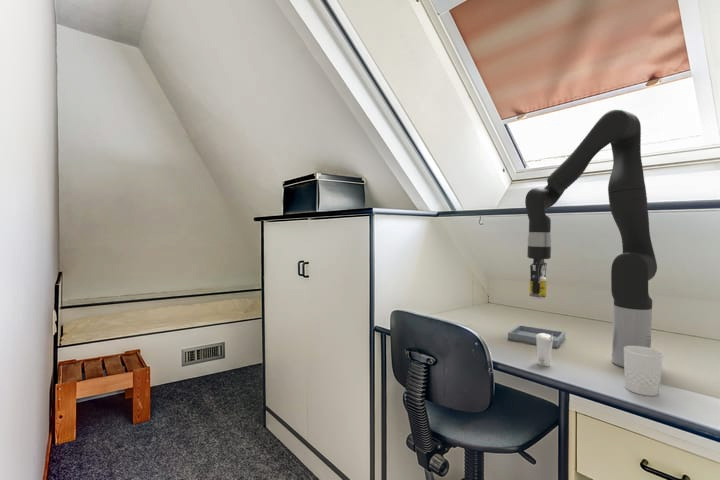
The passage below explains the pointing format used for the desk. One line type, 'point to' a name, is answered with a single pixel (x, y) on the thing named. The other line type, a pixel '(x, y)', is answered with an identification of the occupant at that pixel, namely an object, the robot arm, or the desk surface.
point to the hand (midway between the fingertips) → (538, 292)
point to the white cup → (642, 369)
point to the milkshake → (544, 348)
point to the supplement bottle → (542, 288)
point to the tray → (534, 335)
